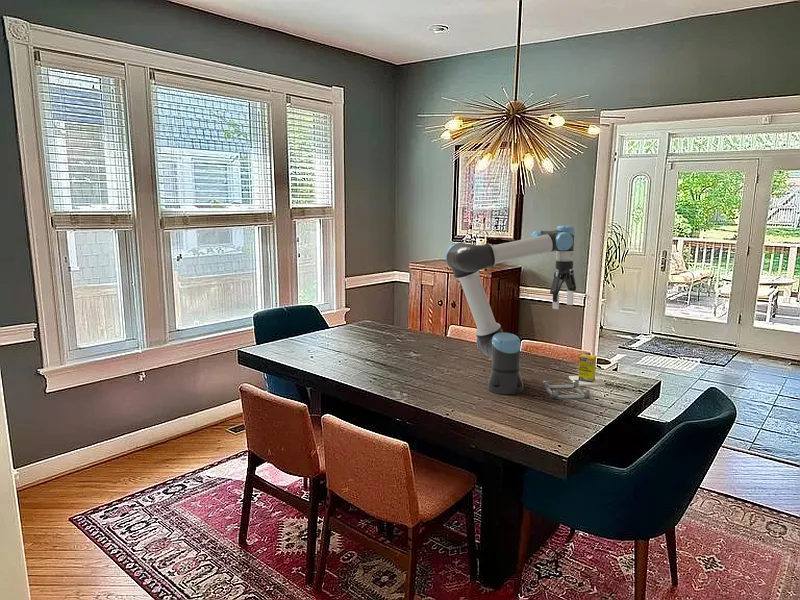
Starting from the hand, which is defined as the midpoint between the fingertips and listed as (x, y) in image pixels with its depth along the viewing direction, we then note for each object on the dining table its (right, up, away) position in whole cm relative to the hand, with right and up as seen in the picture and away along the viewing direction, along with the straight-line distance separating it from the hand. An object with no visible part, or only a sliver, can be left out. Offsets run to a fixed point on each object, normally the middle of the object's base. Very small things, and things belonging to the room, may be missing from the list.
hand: (562, 306), depth 250 cm
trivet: (+9, -33, -7) cm, 35 cm away
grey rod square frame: (-5, -36, -21) cm, 41 cm away
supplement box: (+9, -33, -7) cm, 34 cm away
